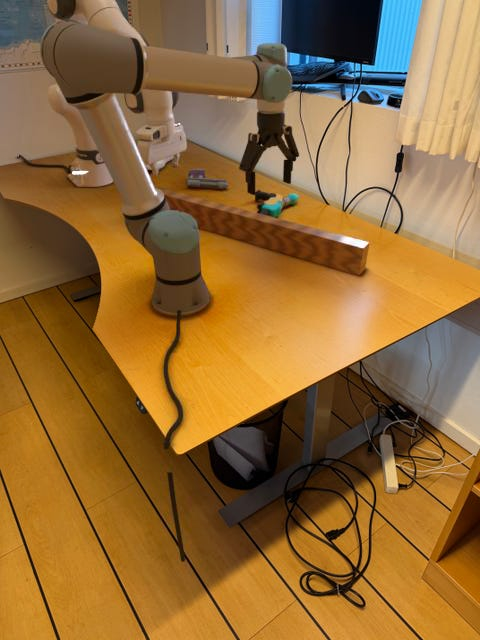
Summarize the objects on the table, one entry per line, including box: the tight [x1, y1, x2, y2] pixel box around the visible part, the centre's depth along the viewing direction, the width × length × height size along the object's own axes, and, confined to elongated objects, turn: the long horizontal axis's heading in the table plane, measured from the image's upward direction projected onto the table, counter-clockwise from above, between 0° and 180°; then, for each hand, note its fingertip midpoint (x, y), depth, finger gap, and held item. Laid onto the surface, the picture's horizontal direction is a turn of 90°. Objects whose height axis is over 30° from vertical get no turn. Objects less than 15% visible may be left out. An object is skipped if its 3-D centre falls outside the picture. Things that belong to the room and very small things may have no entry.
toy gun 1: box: [185, 168, 229, 190], centre depth 195 cm, size 4×19×15 cm
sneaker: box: [145, 156, 174, 171], centre depth 214 cm, size 10×29×12 cm, turn 163°
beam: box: [156, 187, 370, 277], centre depth 153 cm, size 79×4×9 cm, turn 56°
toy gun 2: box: [254, 189, 299, 218], centre depth 172 cm, size 4×26×15 cm
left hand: (165, 170), depth 161 cm, fingers open, 8 cm apart
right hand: (269, 188), depth 139 cm, fingers open, 13 cm apart
